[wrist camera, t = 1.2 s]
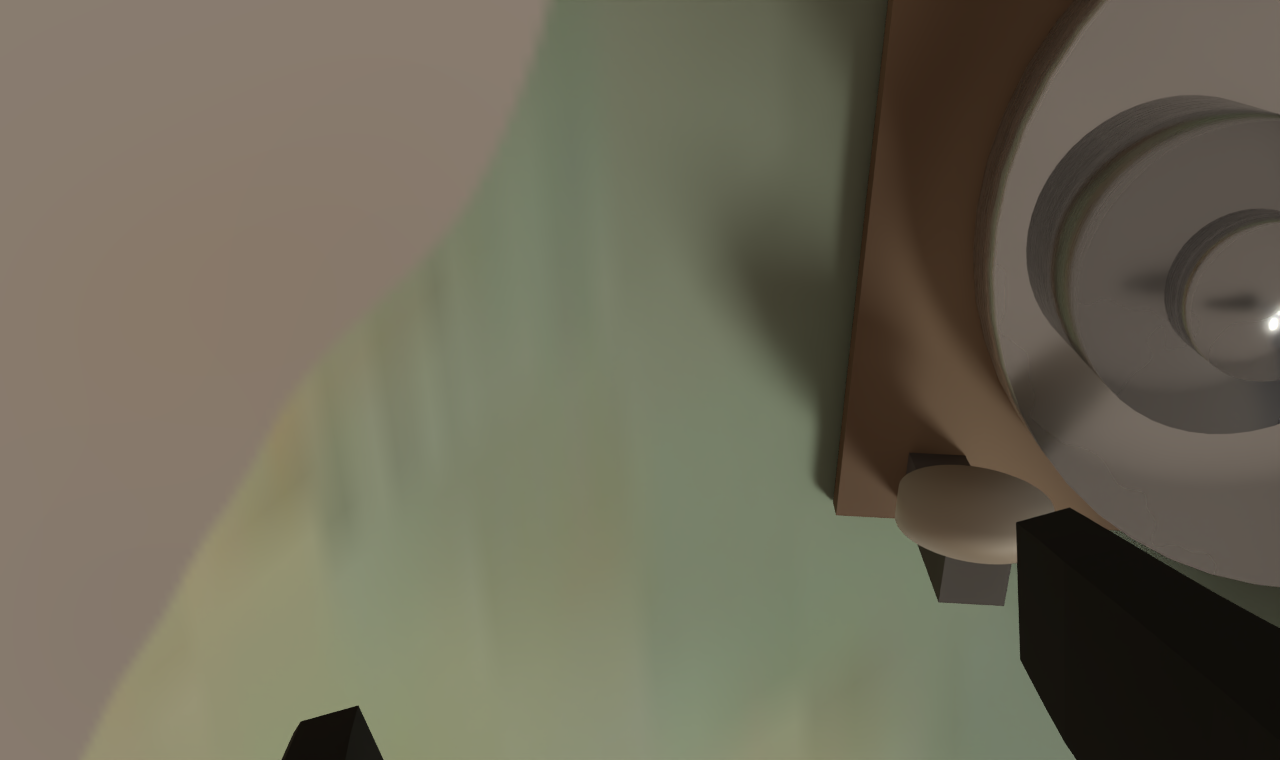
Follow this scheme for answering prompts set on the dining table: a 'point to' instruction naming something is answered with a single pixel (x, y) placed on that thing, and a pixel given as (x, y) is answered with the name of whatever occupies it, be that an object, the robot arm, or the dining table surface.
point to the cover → (1170, 260)
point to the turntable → (1043, 361)
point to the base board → (940, 305)
